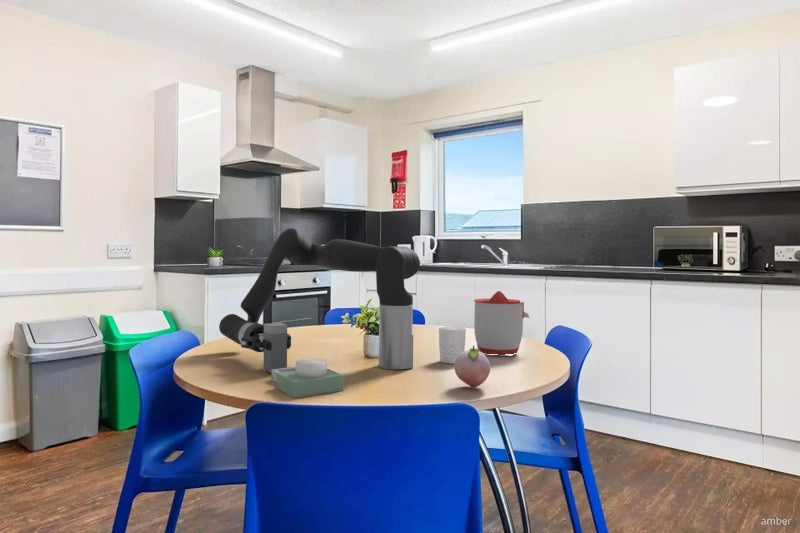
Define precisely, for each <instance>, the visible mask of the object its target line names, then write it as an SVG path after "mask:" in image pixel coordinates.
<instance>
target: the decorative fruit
mask: <svg viewBox="0 0 800 533" xmlns="http://www.w3.org/2000/svg"><path fill="white" fill-rule="evenodd" d="M453 365H454V366H453V368H454V372H455V375H456V377H457V378H458V379H459V380H460V381H462V382H463V383H464V384H466V385H467V386H469V387H471V388H472V387H475V388H478V387H479V386H482V384H484V383H485V382H486V381H487V379H488V377H489V375H490V373H491V363H490V361H489V359H488V357H487V356H486V354H483V353H482V352H480V350H479V349H478V348H475V345H473V346H472V347H471V348H469V349H468V350H464V352H462V353H460V354H459V355H458V356H457V358H456V360H455V364H453Z"/></svg>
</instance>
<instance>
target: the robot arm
mask: <svg viewBox="0 0 800 533" xmlns="http://www.w3.org/2000/svg"><path fill="white" fill-rule="evenodd" d="M285 259H286V260H288V261H289V262H290V263H291V264H294V265H298V266H317V267H322V268H328V269H334V270H338V271H344V272H354V273H356V272H357V273H358V272H359V273H362V272H363V273H364V272H365V273H366V272H368V273H369V272H375V278H376V282H375V285H376V293H377V297H378V299H379V300H378V301H379V304H378V305H379V306H378V307H379V308H378V309H379V310H378V311H379V312H378V314H379V315H378V317H379V319H378V320H379V321H378V322H379V323H378V367H379V368H381V369H385V370H407V369H413V367H414V332H413V321H414V320H413V314H414V313H413V310H414V306H413V304H414V301H413V300H414V296H413V295H412V293H411V292H409V291H407V290H406V288H405V280H408V279H410V278H412V277H414V276H416V274H417V273H418V271H419V270H420V266H421V261H420V257H419V256H418V254H417V252H415V251H414V250H413V249H411V248H410V247H408V246H400V245H399V246H396V245H393V246H392V245H391V246H386V247H385V246H384V247H383V246H379V245H377V246H376V245H373V244H369V243H364V242H360V241H354V240H348V239H341V238H340V239H339V238H337V239H331V240H330V241H328V242H327V243H325V244H323V245H322V244H317V243H313V242H311V240H309V239H308V238H307V237H306V236H304V235H303V234H302V233H301V232H300V231H299V230H298V229H296V228H293V227H292V228H288V229H285V230H284V231H282V232H281V233H280V235H279V236H278V238H276V240H275V243H274V244H273V247H272V248H271V251H270V253H269V254H268V256H267V258H266V261H265V263H264V265H263V267H262V269H261V272H260V273H259V275H258V277H257V279H256V281H255V282H254V283H253V285H252V287H251V288H250V290H249V291H248V292H247V294H246V295H245V296H244V298H243V300H241V303H240V308H241V309H242V310H243V311H244V312H245V313H246V315H247V320H246V319H245V318H242V316H239V315H237V314H235V313H229V314H227V315H225V316H224V317H222V318H221V320H220V322H219V324H218V325H219V327H218V329H219V332H220V333H221V334H222V336H224V337H226V338H227V339H230V340H231V341H232V342H234V343H236V344H238V345H240V347H241V348H244V349H249V350H251V351H253V352H256V353H264V349H265V350H267V351H271V349H272V344H271V342H269V341H267V340H265V339H264V324H261V323H259V321H260V318H261V316H262V314H263V312H264V311H265V309H266V308H267V306H268V305H269V303H270V302H271V300H272V299H273V296H274V294H275V291H276V287H277V286H276V285H277V280H278V274H279V270H280V267H281V265H282V263H283V262H284V260H285ZM291 347H292V336H291V335H290V333H287V350H289V349H290V348H291Z"/></svg>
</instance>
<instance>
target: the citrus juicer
mask: <svg viewBox="0 0 800 533" xmlns="http://www.w3.org/2000/svg"><path fill="white" fill-rule="evenodd" d="M473 302H474V325H473V327H474V336H475V341H476V346H477V349H479V350H480V352H482V353H486V354H498V355H505V354H514V353H518V351H519V350H520V345H521V343H522V342H521V341H522V338H523V329H524V318H529V319H530V315H529V313H527V312H526V311H525V302H524V301H522V302H521V300H520V299H513V298H512V299H511V298H510V299H509V298H507V297H506V295H505V294H504V293H503V292H502V291H500V290H497V291H496V292H495V293H494V294H493V295H492V296H491V297H490V298H476V299H474V300H473ZM486 354H485V355H486Z"/></svg>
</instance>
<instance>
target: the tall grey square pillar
mask: <svg viewBox="0 0 800 533" xmlns="http://www.w3.org/2000/svg"><path fill="white" fill-rule="evenodd" d="M263 325H264V339H265V340H267V341H269V342H271V344H272V349H271V351H267V350H265V349H264V352H263V371H266V372H268V373H270V374H271V370H273V369H281V368H288V349H287V334H288V325H287V324H285V323H281V322H272V323H270V322H269V323H263Z"/></svg>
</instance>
